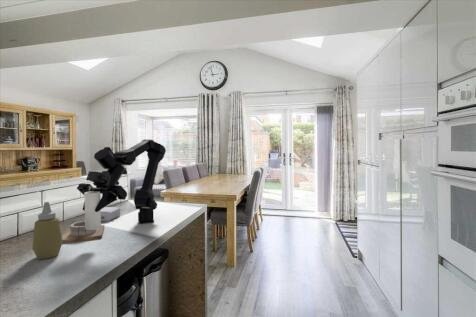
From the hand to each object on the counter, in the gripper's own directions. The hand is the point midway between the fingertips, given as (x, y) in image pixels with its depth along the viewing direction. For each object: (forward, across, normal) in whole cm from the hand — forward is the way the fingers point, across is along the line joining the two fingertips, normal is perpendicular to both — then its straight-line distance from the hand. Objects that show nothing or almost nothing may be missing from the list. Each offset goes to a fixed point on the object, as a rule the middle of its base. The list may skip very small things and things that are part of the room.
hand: (89, 210), depth 91 cm
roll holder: (+3, -13, +16) cm, 21 cm away
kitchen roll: (+4, 0, +6) cm, 7 cm away
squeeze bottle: (+16, -8, +3) cm, 18 cm away
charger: (-15, -23, +35) cm, 45 cm away
